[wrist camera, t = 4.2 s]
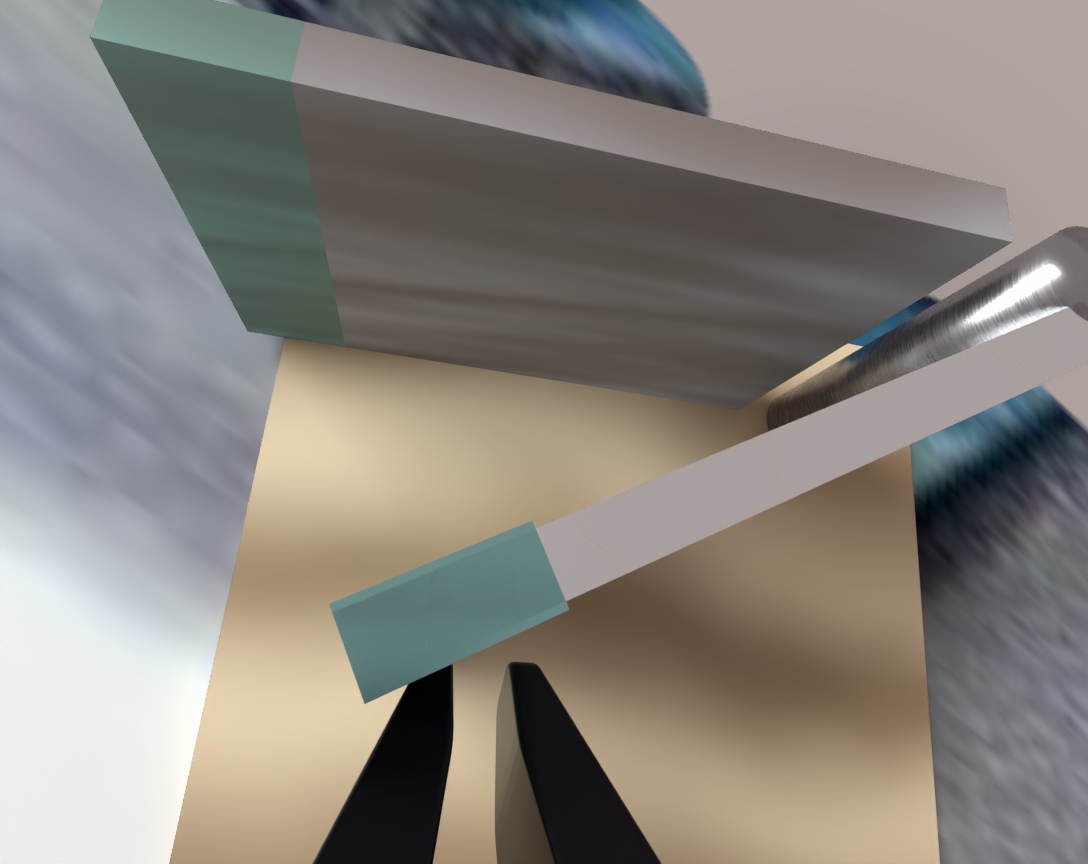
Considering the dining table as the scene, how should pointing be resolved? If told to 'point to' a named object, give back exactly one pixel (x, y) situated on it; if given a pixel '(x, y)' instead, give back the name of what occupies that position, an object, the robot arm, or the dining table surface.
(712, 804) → the base
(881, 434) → the jaw
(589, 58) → the dining table surface
